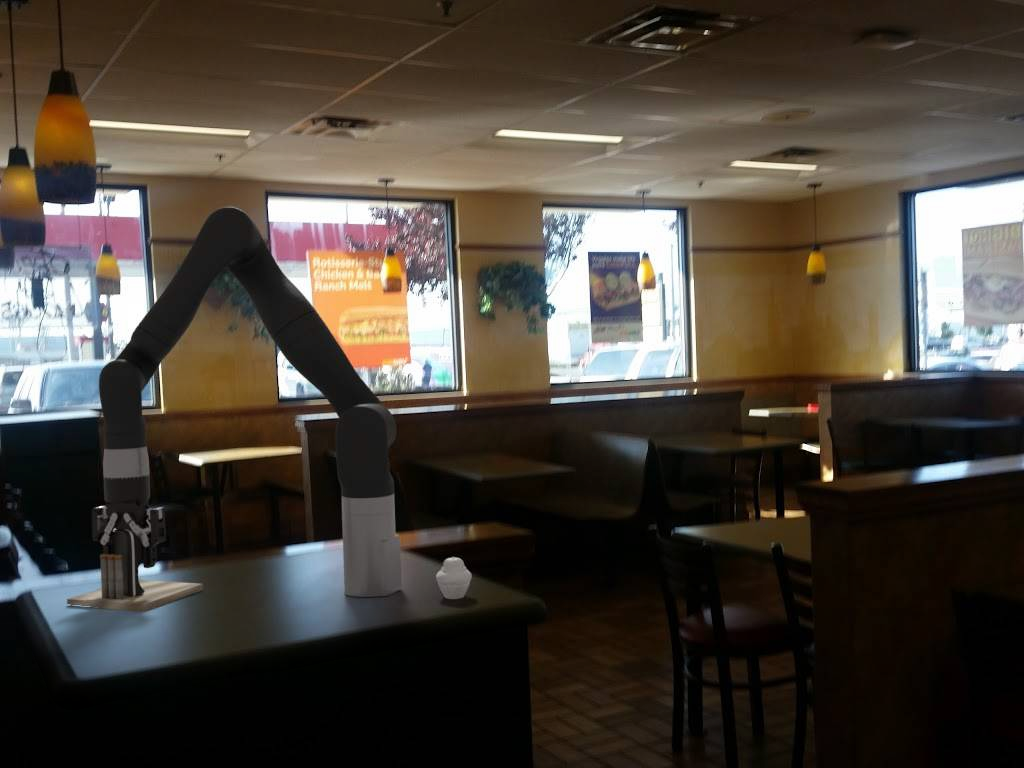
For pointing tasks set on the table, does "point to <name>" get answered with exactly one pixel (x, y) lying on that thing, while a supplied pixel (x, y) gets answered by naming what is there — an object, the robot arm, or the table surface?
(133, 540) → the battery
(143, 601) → the board
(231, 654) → the table surface
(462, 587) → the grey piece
